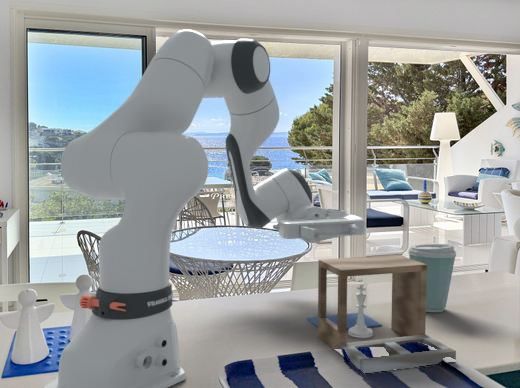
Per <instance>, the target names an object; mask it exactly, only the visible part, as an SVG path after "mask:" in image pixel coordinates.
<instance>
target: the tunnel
mask: <svg viewBox="0 0 520 388" xmlns="http://www.w3.org/2000/svg"><path fill="white" fill-rule="evenodd" d="M327 271H328V272H329V273H332V274H334V275H335V276H337V315H338V324H337V325H336V324H334V323H333V322H332V321H330V320H329V319H327V318H326V316H327V288H328V287H327V285H328V280H327V278H328V276H327V275H328V274H327ZM387 274H392V275H391V278H392V279H391V280H392V282H391V283H392V284H391V320H390V321H391V330H392V331H394V332H396V333H397V334H399V335H401V336H397V337H388V338H380V339H372V340H371V339H370V340H361V341H354V342H347V332H348V330H347V314H348V308H347V307H348V277H349V278H350V277H359V276H361V277H362V276H372V275H373V276H375V275H387ZM317 275H318V278H317V280H318V282H317V283H318V285H317V286H318V287H317V288H318V290H317V294H318V295H317V299H318V300H317V303H318V304H317V317H318V327H317V337H318V338H319V339H321V341H323V342H324V343H325V344H326V345H328V346H329V347H330V348H331V349H332V350H334V349H341V348H342V349H344V350H345V352H346V354H347V356H348V358H349V359H350V361H351V362H352V363H353V364H354V365H355V366H356V367H357V368H358V369H360V370H361V371H362V372H363V373H364V374H363V373H362V372H361V371H360V372H361V373H362V374H363V375H366V374H365V373H372V372H378V371H379V373H381V372H380V371H387V372H390V371H389V370H394V369H402V370H406V369H405V368H410V369H413V368H412V367H417V368H420V367H419V366H425V367H427V366H426V365H431V364H436V363H439V362H441V361H442V360H443V358H445V357H451V358H453V359H455V360H456V359H457V358H456V357H457V350H455V349H453V348H451V347H450V346H447V345H446V344H444V343H442V342H440V341H438V340H437V339H435V338H433V337H431V336H429V335H427V334H426V325H427V324H426V321H427V320H426V318H427V317H426V316H427V315H426V314H427V312H426V283H427V264H424V263H421V262H418V261H415V260H412V259H410V257H409V258H408V257H405V256H402V255H400V254H387V255H373V256H359V257H358V256H356V257H344V258H343V257H339V258H322V259H318V274H317ZM407 342H420V343H424V344H427V345H429V346H431V347H434V348H435V349H437V350H430V351H422V352H414V353H411V352H410V351H408V350H406V349H405V348H403V347H402V346H400V345H401V344H405V343H407ZM359 347H384V348H385V349H386V351H387V352H388V353H389V356H381V357H373V358H369V357H367V356H366V355H365V354H363V353H362V352H361V351H359V350H358V349H357V348H359ZM456 361H457V360H456ZM356 367H355V368H356ZM357 368H356V369H357ZM358 369H357V370H358ZM372 374H373V373H372Z"/></svg>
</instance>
